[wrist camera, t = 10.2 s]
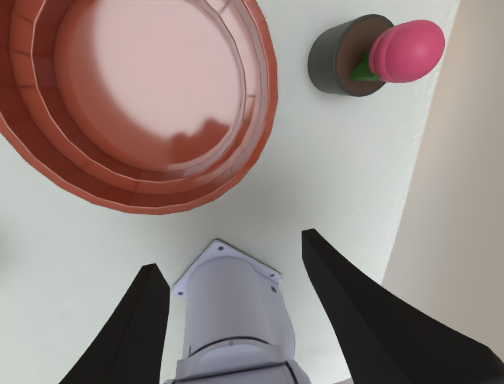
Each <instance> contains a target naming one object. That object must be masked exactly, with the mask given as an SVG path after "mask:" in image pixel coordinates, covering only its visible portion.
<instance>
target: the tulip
mask: <svg viewBox="0 0 504 384" xmlns="http://www.w3.org/2000/svg"><path fill="white" fill-rule="evenodd" d="M444 46H445V39H444V35H443V32H442V30H441V29H440V27H439V26H437V25H436V24H435V23H434V22H431V21H428V20H415V21H410V22H407V23H403V24H399V25H396V26H394V25H393V24H392V22H391V21H390V20H389V19H387V18H386V17H384V16H381V15H377V14H370V15H365V16H362V17H359V18H357V19H354V20H352V21H349V22H347V23H344V24H342V25H339V26H336V27H334V28H331V29H329V30H327V31H325V32H324V33H323V34H322V35H320V36H319V38H318V39H317V40H316V41H315V43H314V45H313V46H312V49H311V51H310V54H309V59H308V72H309V76H310V79H311V81H312V82H313V84H314V85H315V86H316V87H317V88H318V89H319V90H321V91H323V92H326V93H332V94H340V95H348V96H355V97H362V96H367V95H370V94H372V93H374V92H376V91H377V90H379V89H380V88H381V87H382V86H383V85H384V84H385V83H386V82H391V83H406V82H412V81H415V80H417V79H420V78H422V77H423V76H425V75H426V74H428V73H429V72H430V71H431V70H432V69H433V68H434V67H435V66H436V64H437V63H438V62H439V60H440V58H441V56H442V54H443V51H444Z"/></svg>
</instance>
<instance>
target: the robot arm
mask: <svg viewBox="0 0 504 384" xmlns="http://www.w3.org/2000/svg"><path fill="white" fill-rule="evenodd" d="M220 246H222V248H219V247H220ZM302 259H303V262H304V265H305V268H306V271H307V273H308V276H309V278H310V281H311V283H312V285H313V287H314V289H315V291H316V293H317V295H318V297H319V299H320V301H321V303H322V305H323V307H324V309H325V311H326V313H327V316H328V318H329V320H330V322H331V324H332V326H333V329H334V331H335V334H336V336H337V339H338V342H339V344H340V347H341V349H342V352H343V355H344V357H345V360H346V363H347V365H348V368H349V371H350V374H351V376H352V379H353V382H354V384H504V363H503V362H502V361H501V360H500V358H499V357H498V356H496V355H495V354H494V353H493V352H492V351H491V350H490V349H489V348H488V347H487V346H485V345H483V344H481V343H479V342H477V341H475V340H473V339H471V338H469V337H467V336H465V335H463V334H461V333H459V332H457V331H455V330H453V329H451V328H449V327H447V326H446V325H444V324H442V323H440V322H438V321H436V320H435V319H433V318H431V317H429V316H428V315H426V314H424V313H423V312H420V311H419V310H418V309H416V308H414V307H412V306H411V305H409V304H407V303H406V302H404V301H403V300H401V299H399V298H398V297H396V296H395V295H393V294H392V293H390V292H389V291H387V290H386V289H384V288H383V287H382V286H380V285H379V284H377V283H376V282H375V281H373V280H372V279H371V278H369V277H368V276H367V275H365V274H364V273H363V272H362V271H360V270H359V269H358V268H357V267H355V266H354V265H353V264H352V263H351V262H349V261H348V260H347V259H346V258H345V257H344V256H343V255H341V254H340V253H339V252H338V251H337V250H336V249H335V248H334V247H333V246H332V245H330V244H329V243H328V242H327V241H326V240H325V239H324V238H323V237H322V236H321V235H320V234H319V233H318V232H317V231H316V230H315V229H314V228H313V229H308V230H304V231H302ZM271 274H272V275H271ZM282 279H283V277H282V275H281V274H280V273H278V272H276V271H275V270H273V269H271V268H269V267H267V266H265V265H264V264H262V263H260V262H258V261H256V260H254V259H253V258H251V257H249V256H247V255H245V254H243V253H242V252H240V251H238V250H236V249H234V248H232V247H231V246H229V245H227V244H225V243H223V242H221V241H220V240H214V241H213V242H212V243H211V244H210V245H209V246H208V247H207V249H206V250H205V251H204V252H203V253H202V254H201V255H200V257H199V258H198V259H197V260H196V261H195V262H194V263H193V265H192V266H191V267H190V268H189V269H188V270H187V271H186V273H185V274H184V275H183V276H182V277H181V278H180V279H179V281H178V282H177V283H176V284H175V285H174V286H173V287H172V290H171V293H172V294H174V295H176V296H179V297H181V298H184V299H186V300H187V310H186V321H185V333H184V344H183V356H182V359H181V360H178V361H177V368H176V377H175V379H168V380H166V381H165V382H164V383H163V384H311V382H310V380H309V378H308V376H307V374H306V373H305V371H304V370H303V369H302V368H301V367H300V366H299V365H298V364H297V362H295V361H294V360H293V359H294V354H295V334H294V329H293V326H292V323H291V320H290V318H289V315H288V312H287V309H286V306H285V303H284V300H283V297H282V294H281V291H280V289H279V286H278V283H279V282H280V281H281V280H282ZM169 304H170V287H169V285H168V284H167V282H166V280H165V279H164V277H163V275H162V273H161V272H160V270H159V268H158V266H157V265H156V263H154V264H149V265H144V266H142V268H141V269H140V271H139V272H138V274H137V276H136V277H135V279H134V280H133V282H132V284H131V285H130V287H129V289H128V290H127V292H126V293H125V295H124V297H123V298H122V300H121V301H120V303H119V304H118V306H117V307H116V309H115V311H114V312H113V314H112V315H111V317H110V318H109V319H108V321H107V322H106V324H105V325H104V327H103V328H102V330H101V331H100V332H99V334H98V335H97V337H96V338H95V339H94V341H93V342H92V343H91V345H90V346H89V347H88V349H87V350H86V351H85V353H84V354H83V355H82V356H81V358H80V359H79V360H78V361H77V363H76V364H75V365H74V366H73V368H72V369H71V370H70V371H69V372H68V374H67V375H66V376H65V377H64V378H63V379H62V381H61V382H60V383H59V384H159V380H160V369H161V360H162V354H163V348H164V341H165V335H166V328H167V322H168V315H169Z"/></svg>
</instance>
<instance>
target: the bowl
mask: <svg viewBox="0 0 504 384" xmlns="http://www.w3.org/2000/svg"><path fill="white" fill-rule="evenodd" d="M277 99H278V88H277V62H276V57H275V53H274V49H273V45H272V42H271V38H270V34H269V30H268V26H267V22H266V21H265V18H264V16H263V14H262V12H261V10H260V8H259V6H258V4H257V2H256V0H0V133H1V134H2V135H3V136H4V137H5V138H6V140H7V141H8V142H9V143H10V144H11V145H12V146H13V147H14V149H15V150H16V151H17V152H18V153H19V154H20V155H21V157H22V158H23V159H24V160H25V161H26V162H28V164H30V165H31V166H32V167H34V168H35V169H36V170H38V171H39V172H40V173H41V174H43V175H44V176H45V177H47V178H48V179H49V180H51V181H52V182H53V183H55V184H56V185H57V186H59V187H60V188H62V189H64V190H66V191H68V192H70V193H72V194H74V195H76V196H78V197H80V198H82V199H84V200H86V201H88V202H90V203H92V204H95V205H99V206H103V207H106V208H110V209H114V210H117V211H121V212H125V213H132V214H149V215H164V214H170V213H176V212H183V211H188V210H191V209H194V208H196V207H199V206H201V205H204V204H206V203H209V202H211V201H214V200H215V199H217V198H218V197H220V196H221V195H223V194H224V193H225V192H227V191H228V190H230V189H231V188H232V187H234V186H235V185H237V184H238V183H239V182H240V181H241V180H242V178H243V177H244V176H245V175H246V174H247V172H248V171H249V170H250V169H251V168H252V167H253V165H254V164H255V163H256V162H257V160H258V159H259V156H260V154H261V152H262V150H263V148H264V146H265V144H266V142H267V140H268V138H269V136H270V134H271V130H272V125H273V121H274V116H275V111H276V106H277V101H278V100H277Z"/></svg>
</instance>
